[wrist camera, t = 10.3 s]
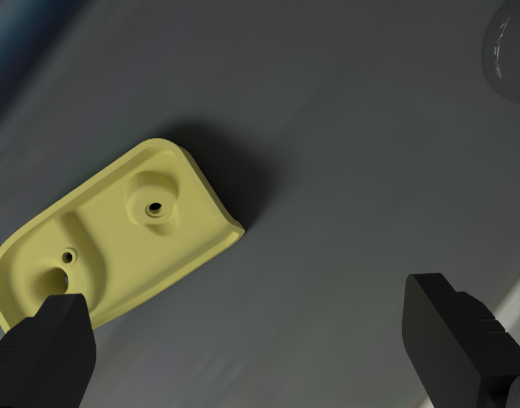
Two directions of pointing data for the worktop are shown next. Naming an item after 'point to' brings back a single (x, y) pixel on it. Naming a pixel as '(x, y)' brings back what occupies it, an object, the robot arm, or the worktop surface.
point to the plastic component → (117, 237)
